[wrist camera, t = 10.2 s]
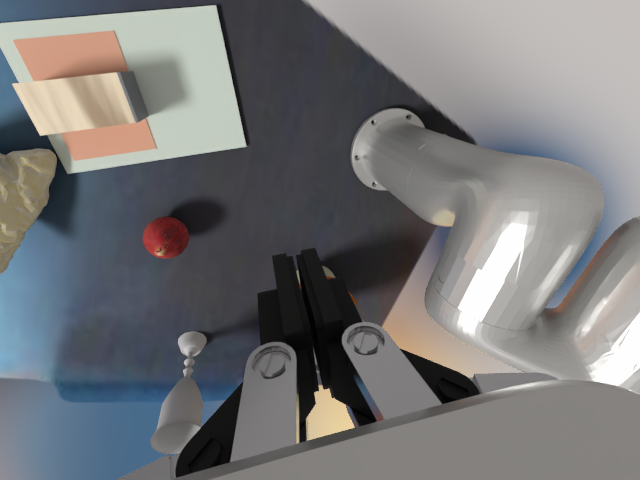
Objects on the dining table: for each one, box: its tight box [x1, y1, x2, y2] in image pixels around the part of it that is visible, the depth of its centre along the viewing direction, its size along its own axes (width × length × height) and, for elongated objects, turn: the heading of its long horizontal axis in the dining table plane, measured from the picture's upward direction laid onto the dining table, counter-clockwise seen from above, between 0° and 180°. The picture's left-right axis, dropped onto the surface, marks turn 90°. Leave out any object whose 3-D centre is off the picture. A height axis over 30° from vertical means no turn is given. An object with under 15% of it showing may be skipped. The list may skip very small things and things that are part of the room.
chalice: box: [150, 331, 207, 454], centre depth 51 cm, size 7×7×18 cm
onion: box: [143, 217, 189, 258], centre depth 44 cm, size 6×6×8 cm
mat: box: [0, 5, 246, 174], centre depth 38 cm, size 23×16×1 cm
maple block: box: [12, 71, 149, 136], centre depth 35 cm, size 5×5×10 cm
